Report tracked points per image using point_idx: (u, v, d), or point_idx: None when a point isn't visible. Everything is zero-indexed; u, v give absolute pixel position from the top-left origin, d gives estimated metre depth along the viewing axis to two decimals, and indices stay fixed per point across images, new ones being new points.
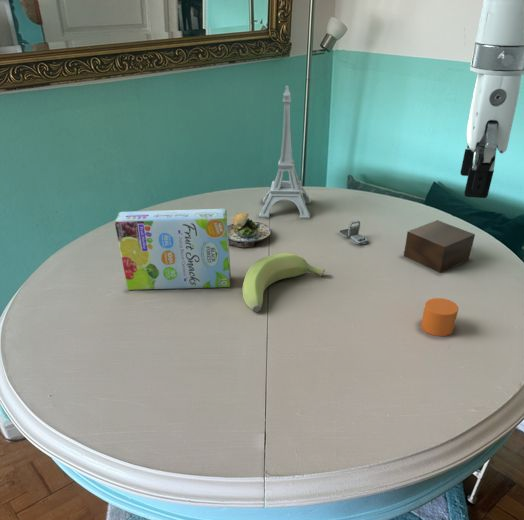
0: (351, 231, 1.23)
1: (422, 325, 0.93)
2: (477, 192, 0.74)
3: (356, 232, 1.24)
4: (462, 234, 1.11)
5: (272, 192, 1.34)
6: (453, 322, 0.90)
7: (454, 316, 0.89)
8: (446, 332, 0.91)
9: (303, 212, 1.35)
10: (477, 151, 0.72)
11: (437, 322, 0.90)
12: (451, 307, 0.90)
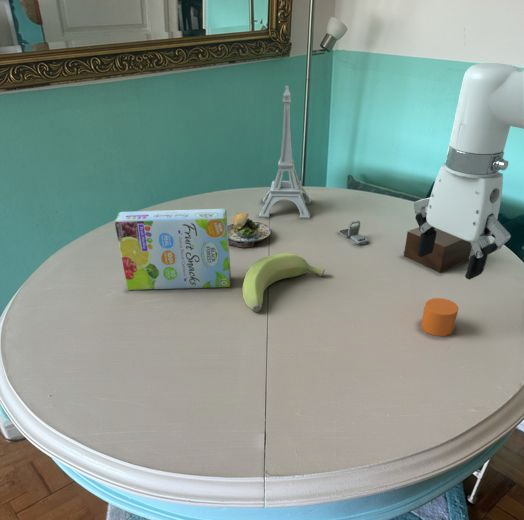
0: (351, 231, 1.23)
1: (422, 325, 0.93)
2: (479, 273, 0.82)
3: (356, 232, 1.24)
4: None
5: (272, 192, 1.34)
6: (453, 322, 0.90)
7: (454, 316, 0.89)
8: (446, 332, 0.91)
9: (303, 212, 1.35)
10: (478, 241, 0.79)
11: (437, 322, 0.90)
12: (451, 307, 0.90)
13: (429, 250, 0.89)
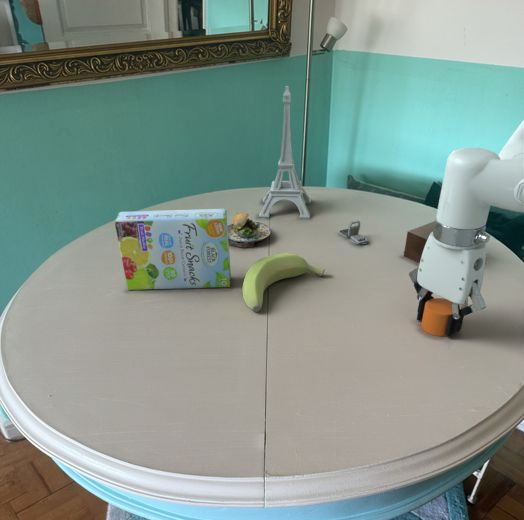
0: (351, 231, 1.23)
1: (422, 325, 0.93)
2: (457, 331, 0.90)
3: (356, 232, 1.24)
4: None
5: (272, 192, 1.34)
6: None
7: None
8: None
9: (303, 212, 1.35)
10: (458, 305, 0.86)
11: (437, 322, 0.90)
12: (451, 307, 0.90)
13: None
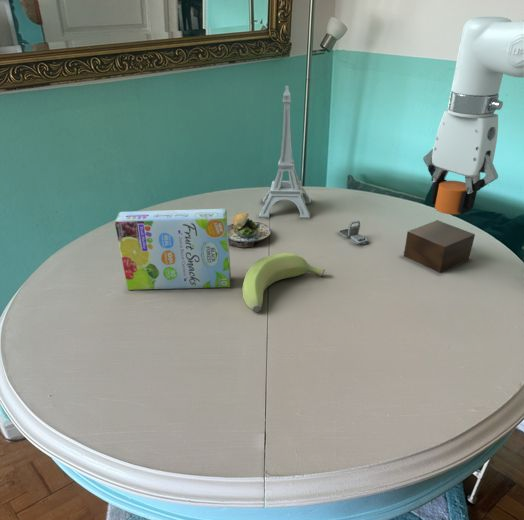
0: (351, 231, 1.23)
1: (436, 206, 0.98)
2: (470, 208, 0.95)
3: (356, 232, 1.24)
4: (462, 234, 1.11)
5: (272, 192, 1.34)
6: None
7: None
8: None
9: (303, 212, 1.35)
10: (472, 179, 0.92)
11: (451, 200, 0.95)
12: (464, 186, 0.95)
13: None
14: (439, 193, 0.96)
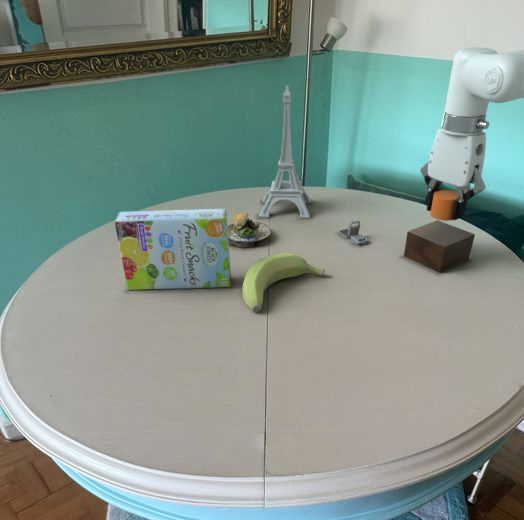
0: (351, 231, 1.23)
1: (431, 213, 1.09)
2: (461, 215, 1.06)
3: (356, 232, 1.24)
4: (462, 234, 1.11)
5: (272, 192, 1.34)
6: None
7: None
8: None
9: (303, 212, 1.35)
10: (462, 189, 1.03)
11: (444, 207, 1.06)
12: (456, 195, 1.07)
13: None
14: (434, 201, 1.07)
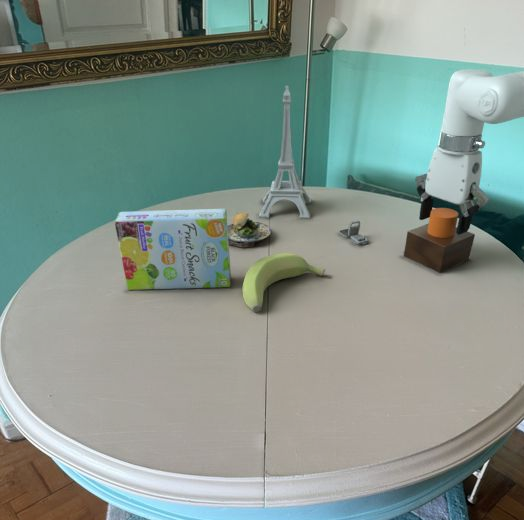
0: (351, 231, 1.23)
1: (428, 230, 1.11)
2: (467, 229, 1.06)
3: (356, 232, 1.24)
4: (462, 234, 1.11)
5: (272, 192, 1.34)
6: (454, 225, 1.09)
7: (455, 220, 1.08)
8: (448, 234, 1.09)
9: (303, 212, 1.35)
10: (465, 204, 1.03)
11: (440, 225, 1.08)
12: (452, 213, 1.09)
13: (428, 215, 1.14)
14: (431, 219, 1.10)
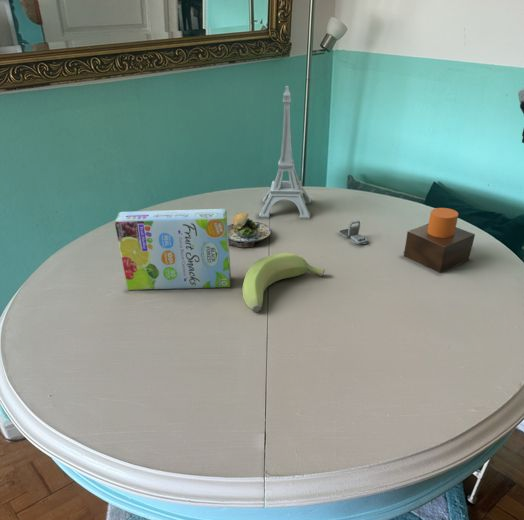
0: (351, 231, 1.23)
1: (428, 230, 1.11)
2: None
3: (356, 232, 1.24)
4: (462, 234, 1.11)
5: (272, 192, 1.34)
6: (454, 225, 1.09)
7: (455, 220, 1.08)
8: (448, 234, 1.09)
9: (303, 212, 1.35)
10: None
11: (440, 225, 1.08)
12: (452, 213, 1.09)
13: None
14: (431, 219, 1.10)
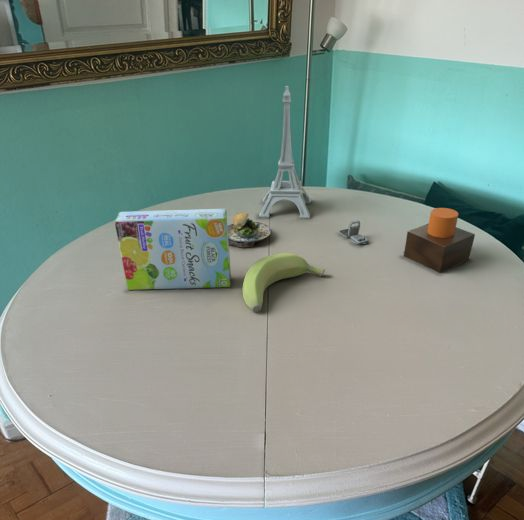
0: (351, 231, 1.23)
1: (428, 230, 1.11)
2: None
3: (356, 232, 1.24)
4: (462, 234, 1.11)
5: (272, 192, 1.34)
6: (454, 225, 1.09)
7: (455, 220, 1.08)
8: (448, 234, 1.09)
9: (303, 212, 1.35)
10: None
11: (440, 225, 1.08)
12: (452, 213, 1.09)
13: None
14: (431, 219, 1.10)
